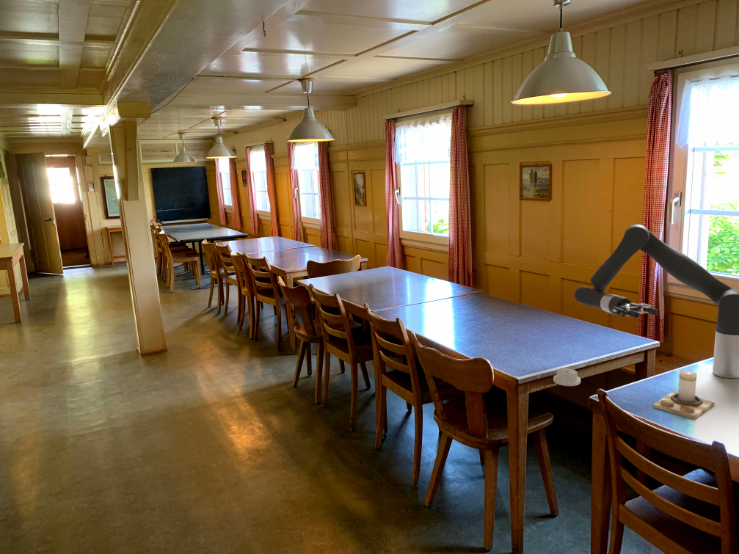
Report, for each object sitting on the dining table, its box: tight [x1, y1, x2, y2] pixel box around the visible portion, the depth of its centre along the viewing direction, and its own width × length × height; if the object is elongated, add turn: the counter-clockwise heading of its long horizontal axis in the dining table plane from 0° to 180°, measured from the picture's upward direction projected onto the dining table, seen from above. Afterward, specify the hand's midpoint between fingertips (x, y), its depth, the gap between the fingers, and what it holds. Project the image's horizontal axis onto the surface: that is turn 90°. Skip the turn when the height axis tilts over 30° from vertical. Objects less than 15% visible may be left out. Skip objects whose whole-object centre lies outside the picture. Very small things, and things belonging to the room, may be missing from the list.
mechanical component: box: [553, 367, 582, 387], centre depth 209 cm, size 10×4×10 cm
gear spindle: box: [677, 369, 698, 403], centre depth 183 cm, size 5×5×10 cm
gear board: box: [652, 390, 715, 420], centre depth 183 cm, size 16×13×2 cm
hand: (648, 313), depth 196 cm, fingers open, 8 cm apart
